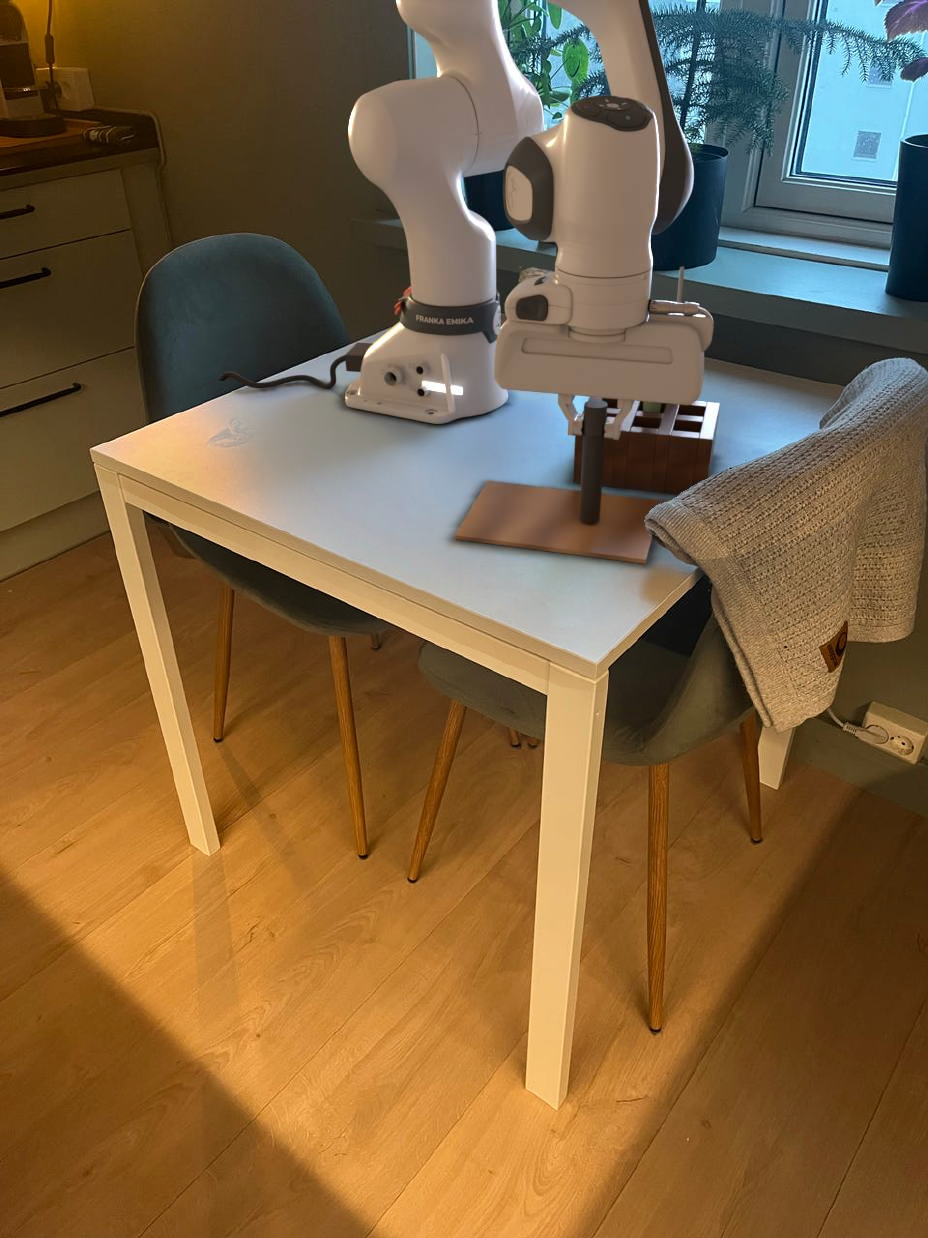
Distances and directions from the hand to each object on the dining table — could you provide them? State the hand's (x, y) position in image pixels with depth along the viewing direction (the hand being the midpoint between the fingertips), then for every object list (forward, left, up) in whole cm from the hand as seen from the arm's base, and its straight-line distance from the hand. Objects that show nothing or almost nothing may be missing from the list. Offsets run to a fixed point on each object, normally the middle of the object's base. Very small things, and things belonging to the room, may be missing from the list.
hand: (593, 435), depth 97 cm
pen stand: (+4, +15, -10) cm, 18 cm away
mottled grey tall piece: (-16, +53, -11) cm, 56 cm away
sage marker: (+4, +17, -10) cm, 20 cm away
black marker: (0, 0, -10) cm, 10 cm away
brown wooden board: (-3, 0, -10) cm, 11 cm away
